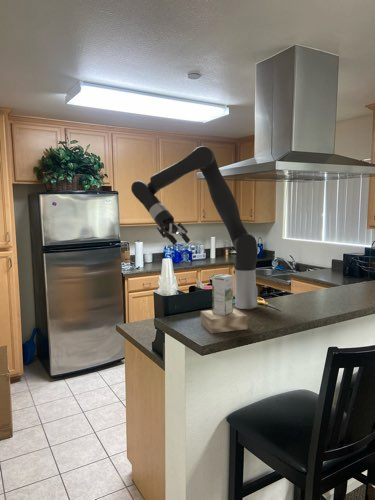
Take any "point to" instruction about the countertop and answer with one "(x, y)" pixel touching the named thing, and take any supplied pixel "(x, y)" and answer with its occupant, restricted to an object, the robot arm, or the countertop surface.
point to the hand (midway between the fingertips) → (182, 242)
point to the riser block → (223, 321)
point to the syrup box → (222, 294)
